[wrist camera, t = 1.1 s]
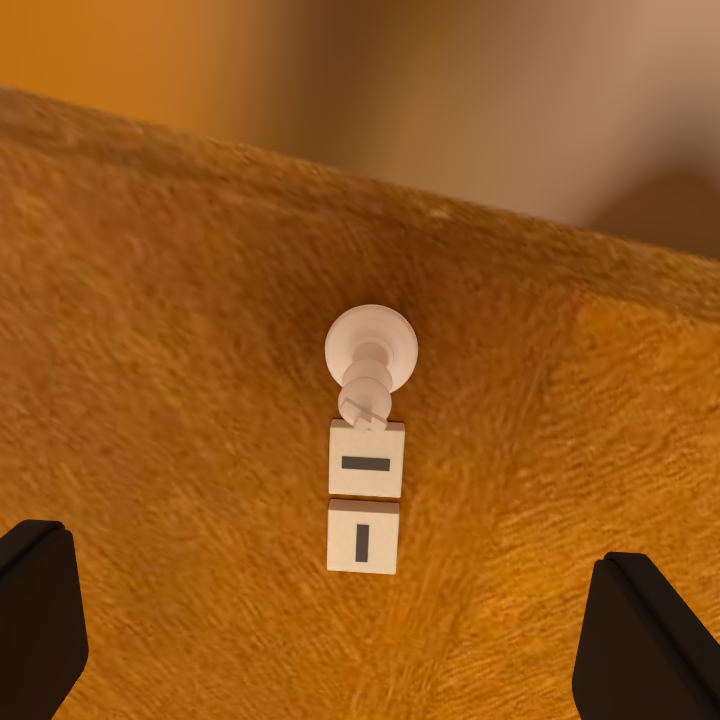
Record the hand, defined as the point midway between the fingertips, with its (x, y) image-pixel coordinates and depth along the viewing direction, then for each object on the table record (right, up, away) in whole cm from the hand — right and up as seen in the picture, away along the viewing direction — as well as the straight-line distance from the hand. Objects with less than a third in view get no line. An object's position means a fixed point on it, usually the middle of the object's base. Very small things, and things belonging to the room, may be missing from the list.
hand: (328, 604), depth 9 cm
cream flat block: (+1, -3, +19) cm, 20 cm away
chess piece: (+1, +5, +17) cm, 18 cm away
